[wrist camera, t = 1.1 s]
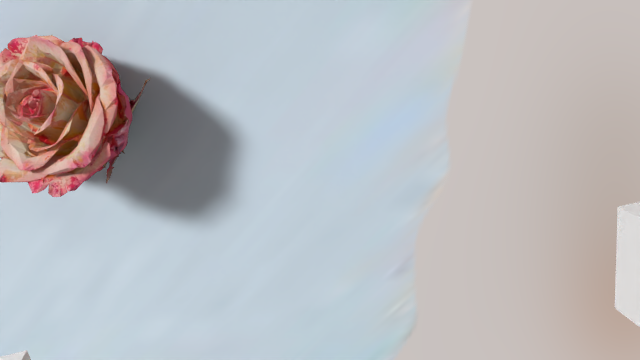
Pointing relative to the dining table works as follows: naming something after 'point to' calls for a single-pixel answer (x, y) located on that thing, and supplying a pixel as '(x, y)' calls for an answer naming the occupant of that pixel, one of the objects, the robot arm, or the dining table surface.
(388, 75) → the dining table surface
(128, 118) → the flower
